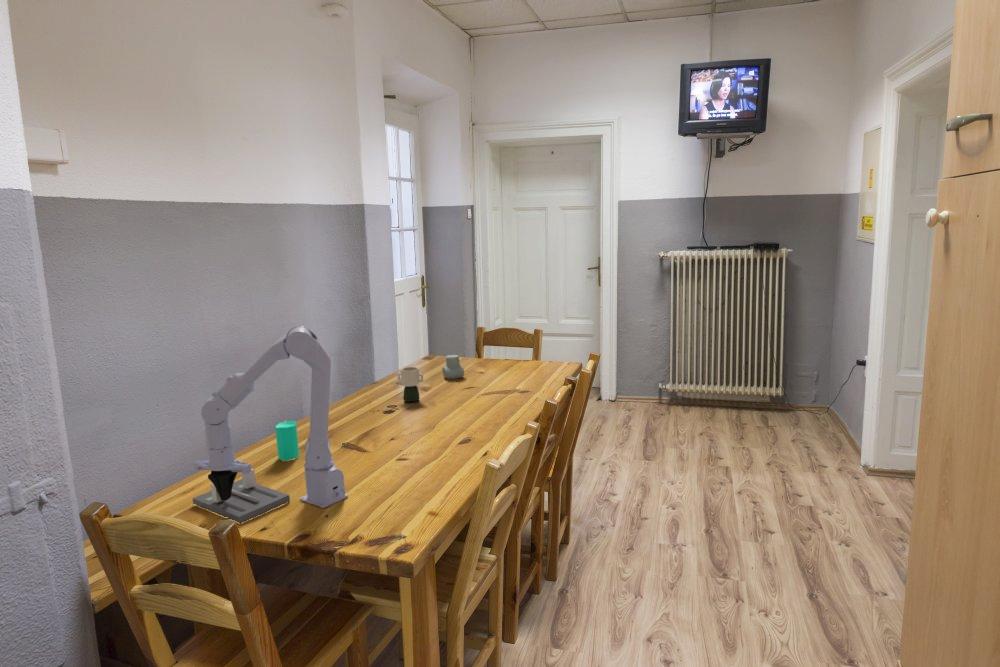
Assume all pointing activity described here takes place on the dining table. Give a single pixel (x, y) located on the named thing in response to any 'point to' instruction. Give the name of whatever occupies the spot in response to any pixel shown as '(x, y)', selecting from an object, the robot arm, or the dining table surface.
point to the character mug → (410, 383)
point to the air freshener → (453, 368)
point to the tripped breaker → (215, 494)
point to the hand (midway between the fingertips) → (226, 498)
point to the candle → (287, 440)
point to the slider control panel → (243, 502)
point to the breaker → (249, 479)
